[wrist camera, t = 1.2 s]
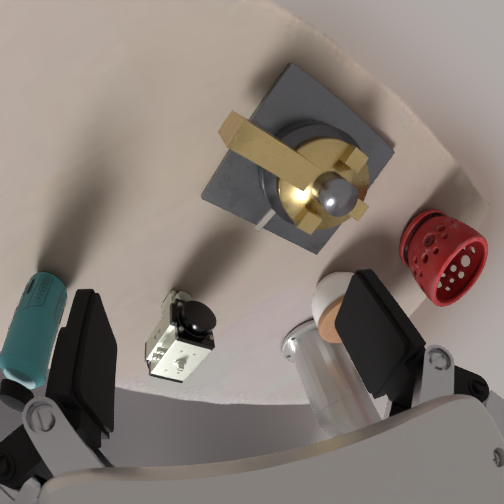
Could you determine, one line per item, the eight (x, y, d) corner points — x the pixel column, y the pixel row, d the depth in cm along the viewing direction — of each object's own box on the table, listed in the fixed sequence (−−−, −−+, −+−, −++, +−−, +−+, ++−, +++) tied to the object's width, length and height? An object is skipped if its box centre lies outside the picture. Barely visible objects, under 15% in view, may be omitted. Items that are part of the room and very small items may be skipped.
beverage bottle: (40, 255, 32) (-13, 380, 16) (78, 279, 35) (46, 410, 19) (28, 284, 34) (-15, 400, 18) (63, 305, 37) (35, 424, 21)
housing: (390, 150, 34) (408, 159, 31) (311, 253, 42) (322, 270, 38) (289, 63, 26) (303, 62, 23) (198, 199, 33) (201, 214, 30)
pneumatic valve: (210, 278, 40) (223, 348, 31) (173, 329, 44) (178, 394, 35) (174, 263, 38) (176, 335, 28) (141, 318, 42) (139, 386, 32)
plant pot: (454, 219, 45) (496, 256, 36) (413, 272, 50) (449, 314, 41) (425, 185, 39) (478, 224, 30) (378, 249, 44) (420, 298, 35)
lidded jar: (323, 252, 42) (353, 296, 35) (372, 266, 46) (401, 304, 39) (290, 305, 47) (310, 350, 40) (339, 312, 51) (361, 351, 44)
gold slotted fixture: (374, 168, 31) (406, 189, 26) (324, 233, 35) (347, 263, 30) (254, 76, 23) (274, 78, 18) (197, 165, 27) (200, 189, 22)
